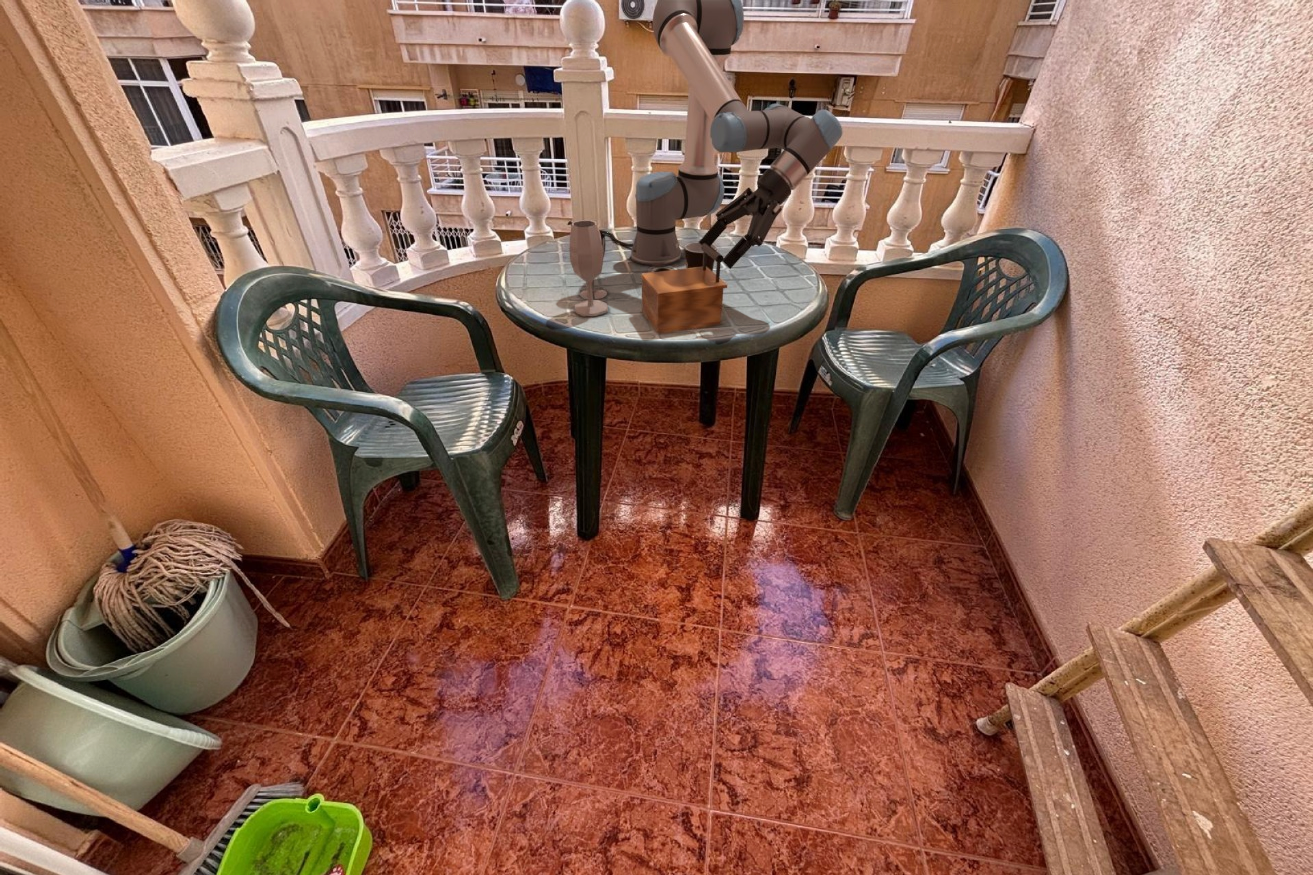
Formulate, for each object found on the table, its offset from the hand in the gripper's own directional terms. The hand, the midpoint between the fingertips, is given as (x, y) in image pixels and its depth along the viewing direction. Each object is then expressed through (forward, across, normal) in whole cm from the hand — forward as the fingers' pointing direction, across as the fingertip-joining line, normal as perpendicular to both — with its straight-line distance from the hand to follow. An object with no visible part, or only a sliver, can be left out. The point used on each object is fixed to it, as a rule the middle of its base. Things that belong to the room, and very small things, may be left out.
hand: (713, 255), depth 123 cm
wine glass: (+28, +22, +7) cm, 36 cm away
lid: (+9, 0, +1) cm, 9 cm away
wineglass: (+30, +12, +9) cm, 33 cm away
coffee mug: (+6, +21, -15) cm, 26 cm away
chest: (+16, 0, -5) cm, 16 cm away
